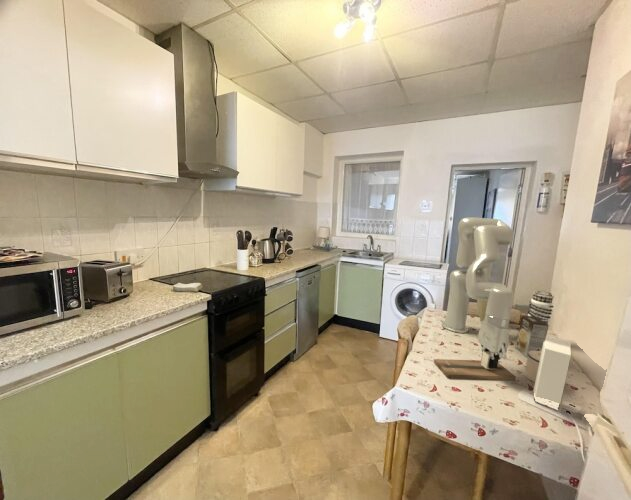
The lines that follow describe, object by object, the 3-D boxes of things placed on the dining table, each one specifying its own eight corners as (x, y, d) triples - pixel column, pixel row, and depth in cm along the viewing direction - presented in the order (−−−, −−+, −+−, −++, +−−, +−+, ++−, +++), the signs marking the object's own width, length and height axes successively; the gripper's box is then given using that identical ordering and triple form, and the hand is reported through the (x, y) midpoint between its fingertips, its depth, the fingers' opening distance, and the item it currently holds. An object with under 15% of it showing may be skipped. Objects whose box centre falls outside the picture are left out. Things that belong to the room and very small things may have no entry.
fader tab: (480, 364, 102) (483, 351, 102) (490, 364, 103) (492, 351, 102) (486, 369, 99) (488, 355, 99) (496, 369, 100) (498, 355, 99)
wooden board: (433, 362, 105) (434, 358, 105) (495, 364, 107) (496, 360, 106) (447, 378, 95) (448, 374, 95) (515, 380, 97) (516, 376, 97)
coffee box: (514, 347, 123) (520, 314, 121) (529, 349, 122) (536, 316, 119) (525, 357, 114) (532, 322, 112) (542, 359, 113) (549, 324, 111)
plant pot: (509, 328, 145) (514, 300, 142) (483, 327, 144) (488, 299, 142) (491, 317, 159) (495, 292, 157) (467, 316, 159) (471, 291, 157)
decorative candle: (536, 335, 137) (545, 289, 134) (551, 344, 128) (561, 295, 124) (518, 334, 137) (527, 288, 134) (532, 343, 128) (541, 294, 125)
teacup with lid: (556, 391, 92) (563, 360, 90) (524, 379, 97) (529, 350, 96) (552, 375, 102) (558, 347, 100) (522, 366, 107) (528, 339, 105)
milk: (532, 393, 90) (544, 332, 87) (556, 401, 87) (569, 338, 84) (534, 402, 85) (546, 338, 82) (559, 411, 82) (573, 345, 79)
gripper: (472, 311, 106) (466, 353, 109) (503, 329, 90) (494, 378, 93) (490, 312, 107) (483, 354, 109) (524, 330, 90) (515, 379, 93)
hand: (488, 364), depth 101 cm, fingers closed on fader tab, 3 cm apart
